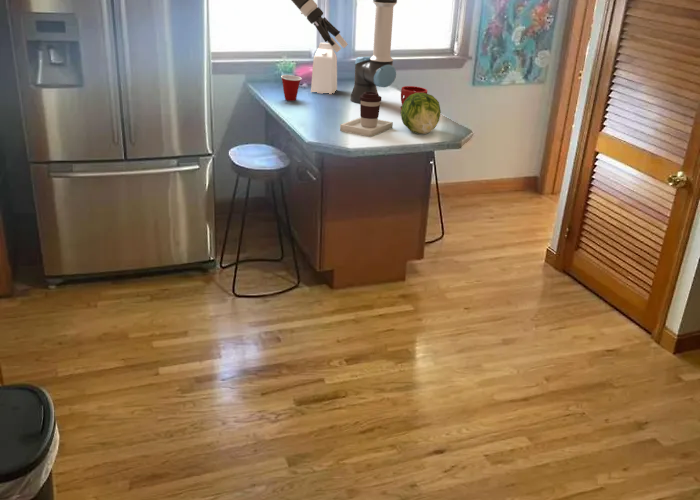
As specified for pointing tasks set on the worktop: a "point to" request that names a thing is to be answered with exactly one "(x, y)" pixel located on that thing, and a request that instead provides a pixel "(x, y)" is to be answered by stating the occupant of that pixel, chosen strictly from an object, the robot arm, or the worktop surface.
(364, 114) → the coffee cup
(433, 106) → the lettuce
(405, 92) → the plant pot
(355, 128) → the tray
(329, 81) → the milk
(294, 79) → the plastic cup
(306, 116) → the worktop surface
